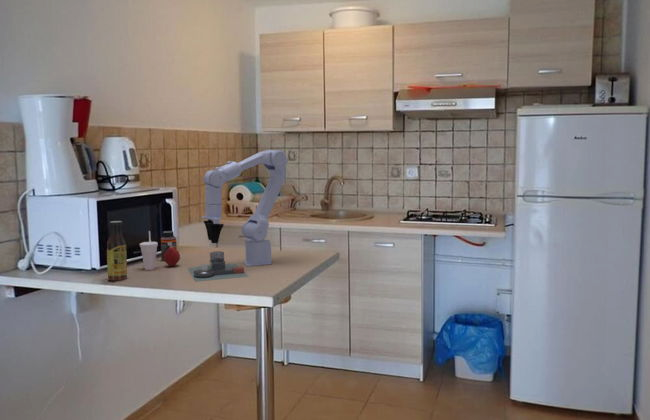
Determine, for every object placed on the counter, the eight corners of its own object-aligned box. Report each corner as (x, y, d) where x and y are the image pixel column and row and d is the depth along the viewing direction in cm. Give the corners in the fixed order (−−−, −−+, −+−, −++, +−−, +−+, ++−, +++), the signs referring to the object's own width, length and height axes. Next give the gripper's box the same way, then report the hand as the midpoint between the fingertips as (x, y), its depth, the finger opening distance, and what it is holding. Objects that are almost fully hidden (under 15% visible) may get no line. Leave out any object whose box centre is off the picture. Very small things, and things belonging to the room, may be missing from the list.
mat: (236, 264, 214) (236, 263, 214) (248, 277, 194) (248, 276, 194) (187, 268, 208) (187, 267, 208) (195, 282, 188) (195, 281, 188)
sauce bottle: (116, 282, 188) (112, 223, 186) (103, 280, 192) (100, 222, 189) (132, 278, 194) (128, 220, 191) (120, 276, 197) (116, 219, 195)
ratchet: (195, 279, 191) (194, 267, 191) (192, 274, 198) (192, 263, 197) (245, 274, 197) (245, 263, 196) (241, 270, 203) (240, 259, 203)
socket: (223, 266, 209) (222, 250, 208) (225, 269, 205) (225, 253, 204) (209, 267, 208) (208, 251, 207) (211, 270, 203) (211, 254, 202)
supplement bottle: (174, 261, 220) (173, 232, 219) (159, 261, 221) (158, 232, 219) (178, 258, 226) (177, 230, 225) (164, 258, 226) (162, 230, 225)
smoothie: (162, 268, 208) (160, 231, 206) (146, 272, 203) (144, 233, 201) (153, 266, 212) (151, 229, 210) (137, 269, 208) (135, 231, 206)
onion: (175, 268, 208) (174, 247, 207) (161, 268, 209) (160, 246, 208) (182, 265, 214) (182, 244, 213) (168, 264, 215) (167, 244, 214)
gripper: (199, 202, 209) (199, 238, 210) (205, 205, 195) (204, 244, 196) (218, 202, 211) (218, 238, 212) (225, 205, 197) (225, 244, 199)
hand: (213, 241), depth 204 cm, fingers open, 7 cm apart
